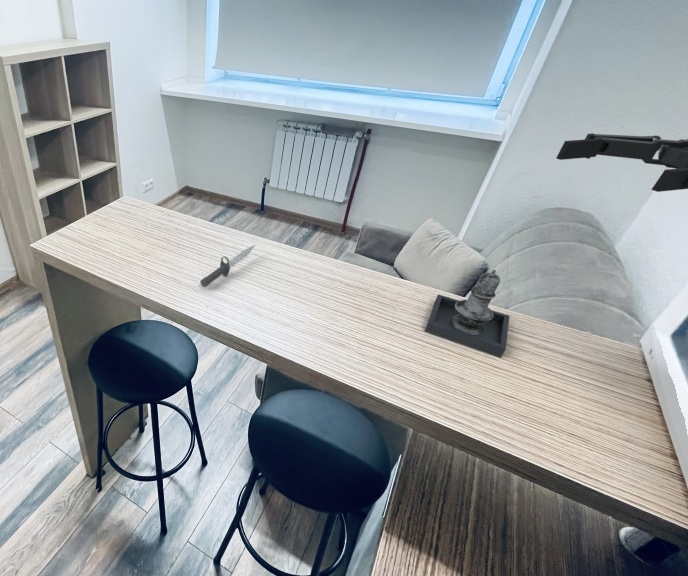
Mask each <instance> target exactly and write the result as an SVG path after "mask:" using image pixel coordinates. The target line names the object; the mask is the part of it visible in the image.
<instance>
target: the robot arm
mask: <svg viewBox="0 0 688 576" xmlns="http://www.w3.org/2000/svg"><path fill="white" fill-rule="evenodd" d="M657 152H658V154H657ZM656 154H657V158H655V155H656ZM597 156H607V157H616V158H623V159H624V158H625V159H633V160H641V161H642V162H643V163H645V164H649V165H656V166H665V168H668V169H664V170H663V172H662V173H661V175H660V176H659V178H658V179H657V180H656V182H655V183H654V185H653V186H652V188H650V190H651V191H653V192H657V193H659V192H661V193H662V192H671V191H680V190H681V191H682V190H688V138H687V139H684V138H683V139H682V138H681V139H678V140H673V139H663V138H662V137H661V136H659V135H626V134H625V135H623V134H606V133H605V134H604V133H603V134H601V133H599V134H598V133H594V132H591V133H587V134H586V136H585V138H584V139H573V140H564V142H563V144H562V146H561V147H560V149H559V152H558V154H557V155H556V159H557V160H560V161H565V160H575V159H588V160H589V159H591V158H596V157H597Z"/></svg>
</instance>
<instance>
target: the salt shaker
mask: <svg viewBox="0 0 688 576" xmlns="http://www.w3.org/2000/svg"><path fill="white" fill-rule="evenodd" d="M500 283H501V278H500V276H499V275H498V274H497V272H496V269H492V270H491V272H483V273H481V274H480V275H479V278H478V280H477V281H476V283H475V286H472V287H471V288H470V292H471V293H470V294H469V296H468V298H467V299H460V300H459V301H458V302H456V303H455V314H456V316H453V317H451V318H450V324H451V325H452V326H453V327H454V328H455V329H457V330H459V331H462V332H466V333H469V334H472V335H478V334H481V333H482V332H483V326H482V325H484V324H485V323H487V322H488V321H489V320H491V319H492V318H493V317H494V314H493V312H492V311H493V310H492V309H491V308H489V305H490V303H491V301H492V300H493V299H495V298H496V293H495V292H496V290H497V288H498V287H499V285H500ZM491 310H492V311H491Z"/></svg>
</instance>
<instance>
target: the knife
mask: <svg viewBox="0 0 688 576" xmlns="http://www.w3.org/2000/svg"><path fill="white" fill-rule="evenodd" d="M255 247H256V244H253V245H251V246H249V247H247V248H245V249H243V250H241V251H240V252H238V254H236V255H235V256H233V257H232V258H231V259H229V258H228V257H227V256H222V257H221V258H220V263H219V267H217V269H215V270H214V271H212V272H211V273H210V274H208V275H207V276H204V277H203V278H202V279H201V280H200V282H199V283H200V285H201V286H202V287H203V288H206V287H208V286H209V285H210V284H212V282H214V281H215V280H216V279H218V278H219V277H221V276H223V277H225V278H227V277H228V275H229V273H230V270H231V268H232V267H233V266H234V265H236V264H237V263H238V262H240V261H241V260H243V259H244V258H245V257H247V256H248V255H249V254H250V253H251V252H252V250H253V249H254V248H255ZM223 259H226V262H224V260H223Z"/></svg>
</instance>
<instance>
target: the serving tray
mask: <svg viewBox="0 0 688 576" xmlns="http://www.w3.org/2000/svg"><path fill="white" fill-rule="evenodd" d="M458 301H460V300H459V299H455V298H452V297H449V296H445V295H442V294H437V295H436V298H435V300H434V303H433V305H432V308H431V311H430V314H429V317H428V319H427V322H426V325H425V329H424V332H425V333H427V334H430V335H434V336H436V337H439V338H441V339H445V340H448V341H451V342H454V343H457V344H459V345H463V346H465V347H469V348H471V349H474V350H476V351H479V352H483V353H486V354H489V355H492V356H495V357H498V358H502V356H503V355H504V353H505V351H506V350H507V345H508V333H509V327H510V325H509V324H510V315H509V314H506V313H502V312H500V311H496V310H492V309H491V311H492V312H493V314H494V317H493V318H492V319H491V320H489V321H488V322H487V323H485V324H484V325H482V326H483V332H482V333H481V334H478V335H472V334H469V333H466V332H462V331H459V330H457V329H455V328H454V327H453V326H452V325H451V324H450V318H451V317H453V316H456V314H455V303H456V302H458Z"/></svg>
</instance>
